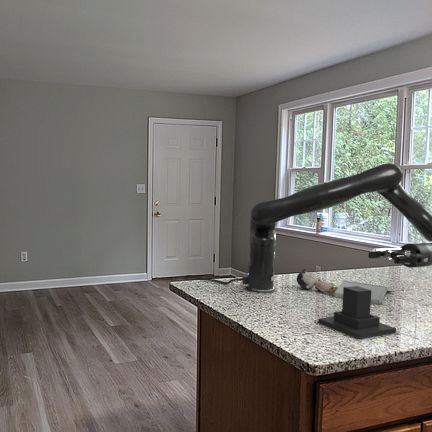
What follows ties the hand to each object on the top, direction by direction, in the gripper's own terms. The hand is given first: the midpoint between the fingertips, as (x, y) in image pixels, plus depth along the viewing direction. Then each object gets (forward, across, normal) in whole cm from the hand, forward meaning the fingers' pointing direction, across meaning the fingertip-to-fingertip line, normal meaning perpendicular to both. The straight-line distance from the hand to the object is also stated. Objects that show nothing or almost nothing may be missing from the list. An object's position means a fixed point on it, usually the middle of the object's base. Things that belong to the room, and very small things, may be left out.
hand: (382, 257), depth 128 cm
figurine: (-9, -34, +19) cm, 40 cm away
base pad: (+12, +3, +19) cm, 23 cm away
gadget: (-22, -23, +19) cm, 37 cm away
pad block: (+13, +3, +18) cm, 22 cm away
